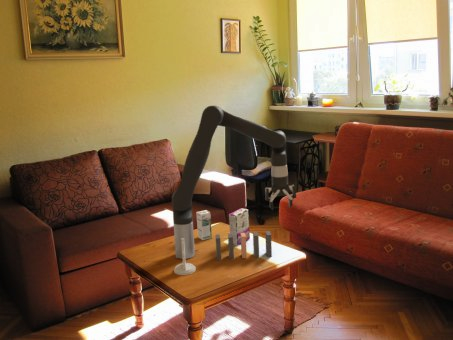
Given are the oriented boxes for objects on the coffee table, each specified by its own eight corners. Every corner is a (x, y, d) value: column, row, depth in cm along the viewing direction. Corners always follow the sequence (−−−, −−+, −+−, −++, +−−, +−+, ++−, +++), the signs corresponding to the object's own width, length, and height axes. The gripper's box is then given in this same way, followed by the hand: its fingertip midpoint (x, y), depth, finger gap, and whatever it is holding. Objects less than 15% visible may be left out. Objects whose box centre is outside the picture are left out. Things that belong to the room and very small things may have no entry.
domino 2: (229, 259, 224) (228, 237, 221) (228, 255, 229) (227, 233, 226) (233, 259, 224) (233, 237, 221) (233, 255, 229) (232, 233, 226)
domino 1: (217, 260, 223) (215, 238, 221) (216, 256, 228) (215, 234, 226) (221, 260, 224) (220, 238, 221) (220, 255, 228) (219, 234, 226)
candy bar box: (242, 237, 251) (241, 207, 247) (250, 239, 248) (249, 209, 244) (229, 244, 242) (228, 213, 239) (237, 246, 239) (236, 215, 236)
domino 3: (242, 258, 224) (241, 236, 222) (241, 254, 229) (240, 233, 226) (246, 258, 224) (245, 236, 222) (245, 254, 229) (244, 232, 227)
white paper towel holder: (173, 276, 209) (171, 244, 206) (174, 266, 219) (172, 236, 215) (195, 274, 210) (193, 242, 206) (195, 265, 219) (193, 234, 216)
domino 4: (254, 257, 224) (254, 235, 222) (253, 253, 229) (252, 232, 227) (259, 257, 225) (258, 235, 222) (257, 253, 229) (257, 231, 227)
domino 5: (267, 256, 225) (267, 235, 222) (265, 252, 230) (265, 231, 227) (271, 256, 225) (271, 234, 222) (270, 252, 230) (269, 231, 227)
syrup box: (202, 240, 249) (200, 214, 246) (197, 237, 254) (196, 211, 251) (212, 238, 252) (210, 212, 248) (207, 235, 257) (205, 209, 253)
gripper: (292, 171, 222) (294, 204, 226) (262, 174, 221) (264, 207, 225) (296, 174, 215) (298, 208, 219) (265, 177, 214) (267, 211, 218)
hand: (281, 207), depth 222 cm, fingers open, 8 cm apart
